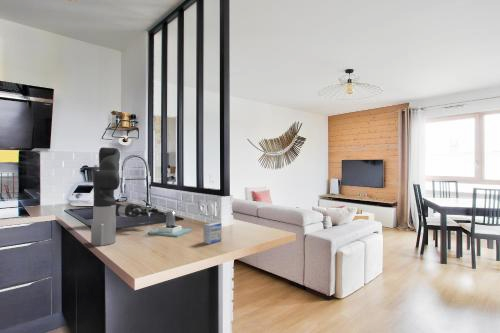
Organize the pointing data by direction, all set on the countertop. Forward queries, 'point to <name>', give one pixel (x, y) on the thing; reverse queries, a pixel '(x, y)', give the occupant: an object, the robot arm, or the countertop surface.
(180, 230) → the housing tray
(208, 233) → the medicine box
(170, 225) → the metal hub
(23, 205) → the countertop surface
